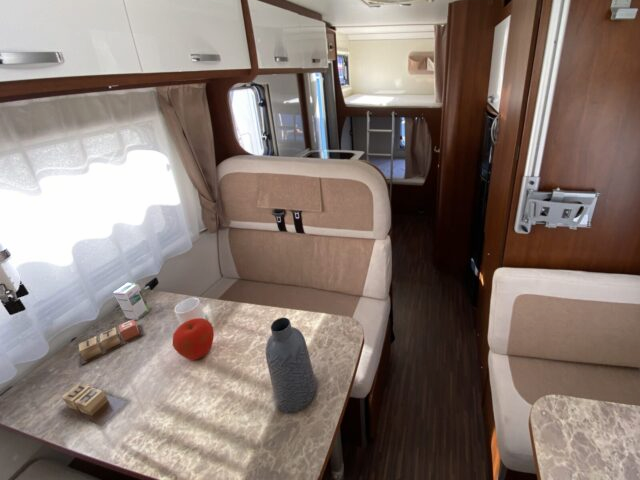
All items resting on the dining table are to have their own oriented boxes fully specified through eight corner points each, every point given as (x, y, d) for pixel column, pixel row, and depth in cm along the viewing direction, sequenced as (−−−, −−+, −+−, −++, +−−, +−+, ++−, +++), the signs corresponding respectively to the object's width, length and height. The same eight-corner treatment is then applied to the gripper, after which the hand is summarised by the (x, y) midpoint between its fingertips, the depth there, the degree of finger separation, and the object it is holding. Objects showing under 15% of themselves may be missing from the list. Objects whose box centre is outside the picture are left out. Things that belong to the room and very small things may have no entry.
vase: (324, 381, 96) (311, 313, 85) (302, 420, 85) (285, 349, 74) (292, 370, 100) (276, 304, 89) (267, 406, 89) (246, 336, 78)
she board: (129, 404, 92) (121, 391, 89) (104, 428, 85) (95, 416, 83) (90, 390, 96) (82, 378, 94) (63, 413, 90) (54, 400, 88)
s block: (137, 327, 118) (133, 318, 116) (139, 333, 115) (135, 324, 113) (123, 334, 115) (118, 325, 113) (124, 340, 112) (120, 331, 110)
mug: (176, 321, 121) (168, 301, 117) (198, 309, 127) (191, 290, 123) (186, 337, 114) (178, 316, 110) (209, 324, 120) (202, 303, 116)
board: (83, 366, 104) (76, 354, 102) (83, 354, 109) (76, 342, 107) (143, 337, 115) (137, 325, 113) (140, 327, 120) (135, 315, 117)
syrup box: (138, 321, 123) (125, 293, 117) (126, 319, 124) (112, 291, 118) (150, 310, 128) (138, 283, 122) (139, 309, 129) (126, 282, 123)
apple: (172, 362, 104) (158, 332, 99) (202, 335, 114) (191, 307, 109) (198, 373, 100) (185, 343, 94) (226, 344, 110) (217, 315, 105)
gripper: (-25, 252, 90) (6, 296, 97) (-39, 277, 79) (-3, 326, 85) (13, 242, 95) (39, 285, 102) (5, 264, 83) (35, 311, 90)
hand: (20, 304), depth 94 cm, fingers open, 9 cm apart
